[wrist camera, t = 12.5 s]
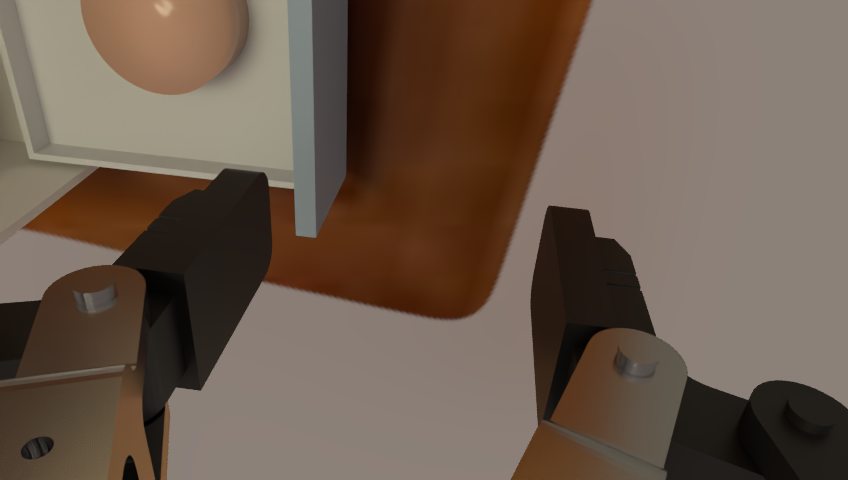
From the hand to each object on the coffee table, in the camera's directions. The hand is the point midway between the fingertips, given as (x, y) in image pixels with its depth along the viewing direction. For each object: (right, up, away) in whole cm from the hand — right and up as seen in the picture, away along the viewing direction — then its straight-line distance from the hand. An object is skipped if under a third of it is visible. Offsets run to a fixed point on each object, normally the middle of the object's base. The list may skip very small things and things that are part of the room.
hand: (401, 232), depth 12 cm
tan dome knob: (-9, +9, +14) cm, 19 cm away
